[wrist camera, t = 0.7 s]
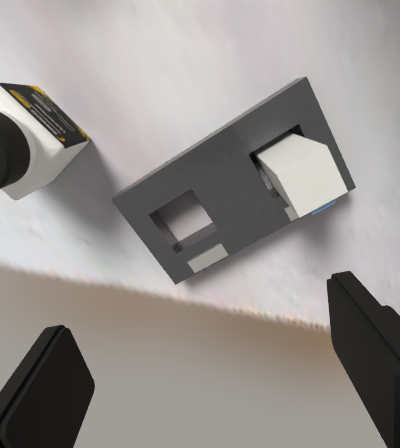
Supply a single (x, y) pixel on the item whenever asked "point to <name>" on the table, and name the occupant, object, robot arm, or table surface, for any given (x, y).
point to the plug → (301, 172)
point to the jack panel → (226, 184)
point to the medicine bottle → (33, 139)
